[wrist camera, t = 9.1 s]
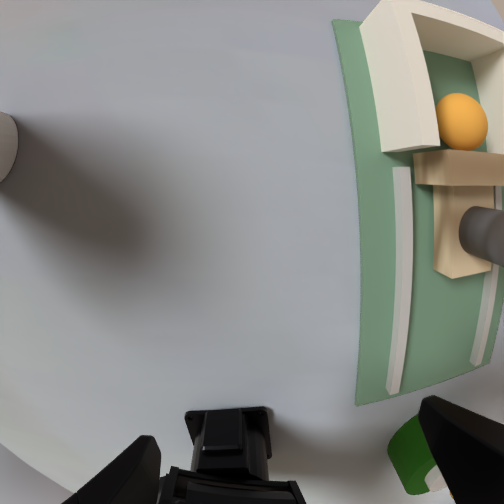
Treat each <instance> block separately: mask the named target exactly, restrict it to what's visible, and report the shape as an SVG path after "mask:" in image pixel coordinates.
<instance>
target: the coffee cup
mask: <svg viewBox="0 0 504 504" xmlns="http://www.w3.org/2000/svg"><path fill="white" fill-rule="evenodd" d="M17 148H18V131H17V127H16V124H15V122H14V120H13V119H12V118H11V116H9V115H8V114H6V113H3V112H0V182H1V181H2V180H3V179H4V178H5V177H6V176H7V175H8V173H9V172H10V170H11V168H12V166H13V163H14V161H15V158H16V154H17Z"/></svg>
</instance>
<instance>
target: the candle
mask: <svg viewBox="0 0 504 504" xmlns="http://www.w3.org/2000/svg"><path fill="white" fill-rule="evenodd" d="M387 452H388V455H389V458H390V460H391V462H392V464H393V466H394V468H395V470H396V472H397V474H398V476H399V478H400V480H401V482H402V484H403V486H404V488H405V490H406V492H407V493H408V494H410V495H419V494H423V493H426V492H429V491H432V492H434V491H438V490H441V489H443V488H445V487H447V484H446V482H445V480H444V478H443V476H442V474H441V472H440V470H439V468H438V466H437V464H436V462H435V460H434V458H433V456H432V454H431V452H430V450H429V447H428V444H427V442H426V439H425V436H424V434H423V431H422V428H421V426H420V423H419V420H418V415H416V416H414V417H413V418H412V419H410V420H409V421H408V422H406V423H405V424H404V425H403V426H402V427H401V428H400V429H399V430H398V431H397V432H396V433H395V435H394V436H393V438H392V439H391V441H390V443H389V445H388V449H387ZM450 495H451V497H452V498H453V496H452V494H451V492H450Z"/></svg>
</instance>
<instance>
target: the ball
mask: <svg viewBox="0 0 504 504" xmlns="http://www.w3.org/2000/svg"><path fill="white" fill-rule="evenodd" d="M435 111H436V117H437V124H438V131H439V136H440V138H441V139H442V140H443V141H444V142H445V143H446V144H447V145H448V146H450V147H451V148H453V149H455V150H464V151H471V150H474V149H476V148H478V147H479V146H480V145H481V144H482V143H483V142H484V140H485V138H486V136H487V132H488V121H487V117H486V114H485V112H484V110H483V108H482V107H481V105H480V104H479V103H478V102H477V101H476V100H475V99H473V98H472V97H470V96H468V95H466V94H462V93H452V94H449V95H446V96H445V97H443V98H442V99H441V100H440V101H439V102H438V104H437V106H436V108H435Z"/></svg>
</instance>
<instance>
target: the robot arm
mask: <svg viewBox="0 0 504 504" xmlns="http://www.w3.org/2000/svg"><path fill="white" fill-rule="evenodd" d="M259 412H262V413H261V414H260V413H259ZM190 417H193V418H190ZM418 420H419V423H420V426H421V428H422V431H423V434H424V436H425V439H426V442H427V444H428V447H429V450H430V452H431V454H432V456H433V458H434V460H435V462H436V464H437V466H438V468H439V470H440V472H441V474H442V476H443V478H444V480H445V482H446V484H447V486H448V488H449V490H450V492H451V494H452V496H453V499H454V501H455V503H456V504H504V425H503V424H501V423H498V422H496V421H493V420H491V419H488V418H486V417H484V416H481V415H479V414H476V413H474V412H472V411H469V410H467V409H465V408H462V407H460V406H458V405H455V404H453V403H451V402H449V401H446V400H444V399H442V398H440V397H437V396H435V395H431V396H428V397H425V398H423V400H422V402H421V406H420V410H419V413H418ZM185 422H186V425H187V428H188V431H189V434H190V437H191V439H192V442H193V445H194V450H193V457H192V463H191V470H190V471H188V470H183V469H179V467H174V466H171V469H170V472H169V474H167V473H166V476H164V477H160V465H161V452H160V449H159V447H158V445H157V443H156V440H155V438H154V437H153V436H150V435H141V436H140V437H138V438H137V439H136V440H135V441H134V442H133V443H132V444H131V445H130V446H129V447H127V448H126V449H125V450H124V451H123V452H122V453H121V454H120V455H119V456H117V457H116V458H115V459H114V460H113V461H112V462H111V463H109V464H108V465H107V466H106V467H105V468H104V469H103V470H101V471H100V472H99V473H98V474H97V475H96V476H94V477H93V478H92V479H91V480H90V481H89V482H87V483H86V484H85V485H84V486H83V487H82V488H80V489H79V490H78V491H77V493H74V494H73V495H72V496H71V497H69V498H68V499H67V500H65V501H64V502H63V503H62V504H306V502H305V500H304V497H303V495H302V493H301V491H300V489H299V487H298V484H297V482H296V481H287V482H284V481H269V475H268V465H267V459H270V458H271V457H272V452H271V443H270V434H269V425H268V417H267V410H266V408H264V407H252V408H241V409H227V410H209V411H188V412H186V413H185ZM159 479H160V480H159Z"/></svg>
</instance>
